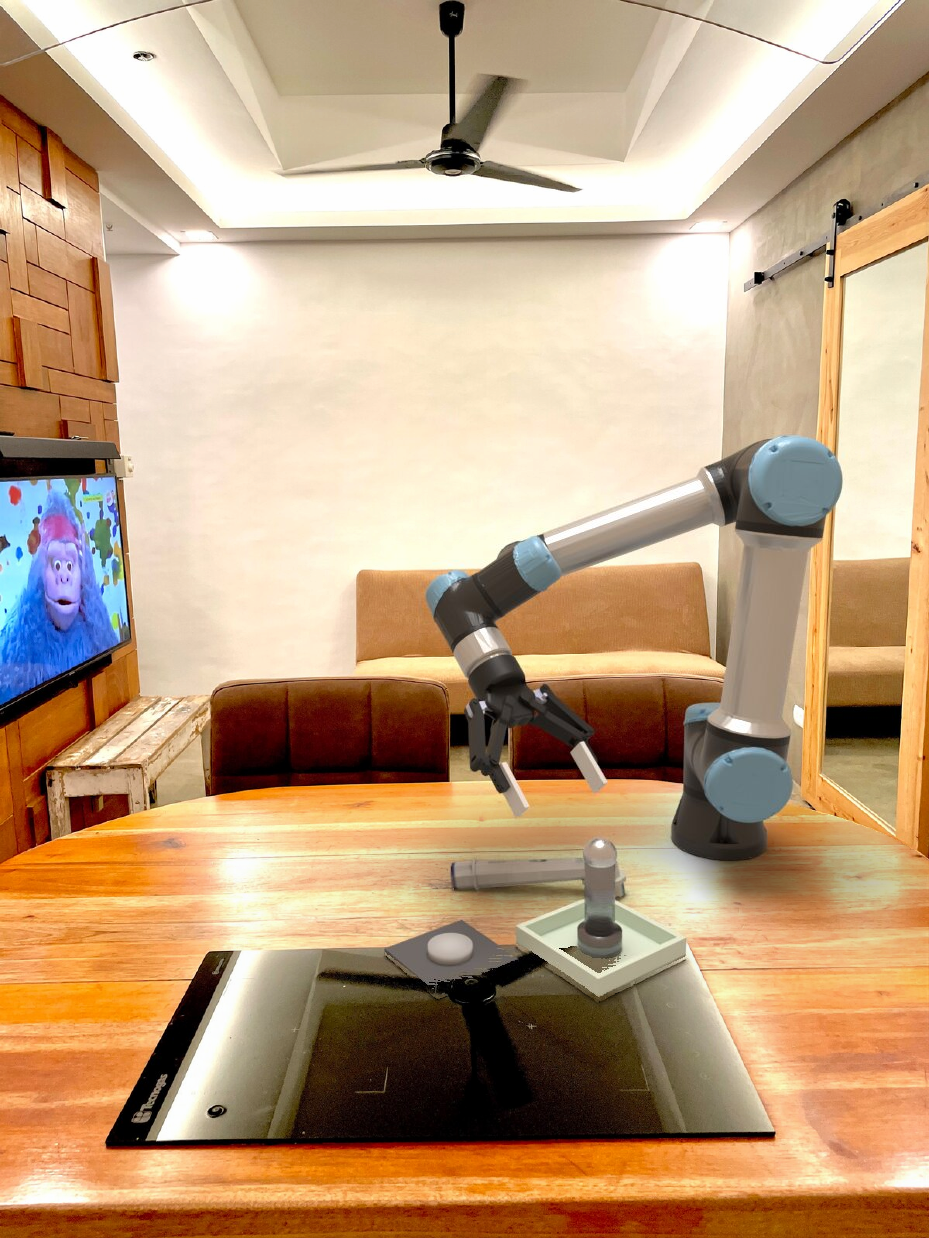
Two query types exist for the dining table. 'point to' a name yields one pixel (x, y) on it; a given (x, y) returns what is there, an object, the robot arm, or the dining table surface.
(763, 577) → the robot arm
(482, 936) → the stud plate
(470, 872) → the grey long rounded piece
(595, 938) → the domed glass cylinder
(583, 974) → the tray
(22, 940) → the dining table surface
